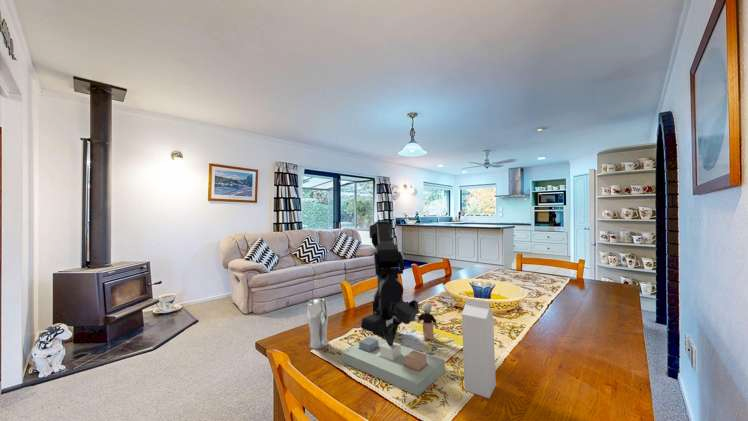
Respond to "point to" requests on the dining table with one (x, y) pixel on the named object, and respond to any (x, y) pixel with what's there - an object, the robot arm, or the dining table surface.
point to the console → (394, 367)
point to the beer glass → (318, 322)
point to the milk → (478, 347)
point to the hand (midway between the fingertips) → (390, 345)
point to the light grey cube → (390, 351)
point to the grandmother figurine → (427, 323)
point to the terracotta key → (416, 361)
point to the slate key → (368, 344)
